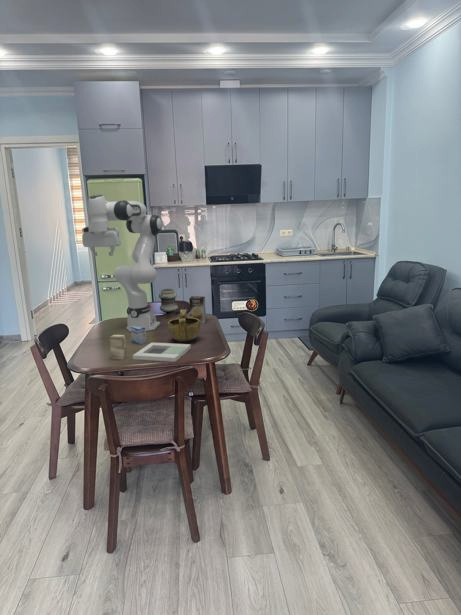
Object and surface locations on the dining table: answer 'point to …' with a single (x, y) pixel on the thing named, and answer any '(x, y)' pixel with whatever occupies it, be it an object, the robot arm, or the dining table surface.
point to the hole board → (162, 352)
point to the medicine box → (138, 334)
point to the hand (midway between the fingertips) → (103, 255)
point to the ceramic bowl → (184, 327)
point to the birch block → (118, 346)
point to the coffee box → (198, 308)
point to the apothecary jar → (168, 302)
